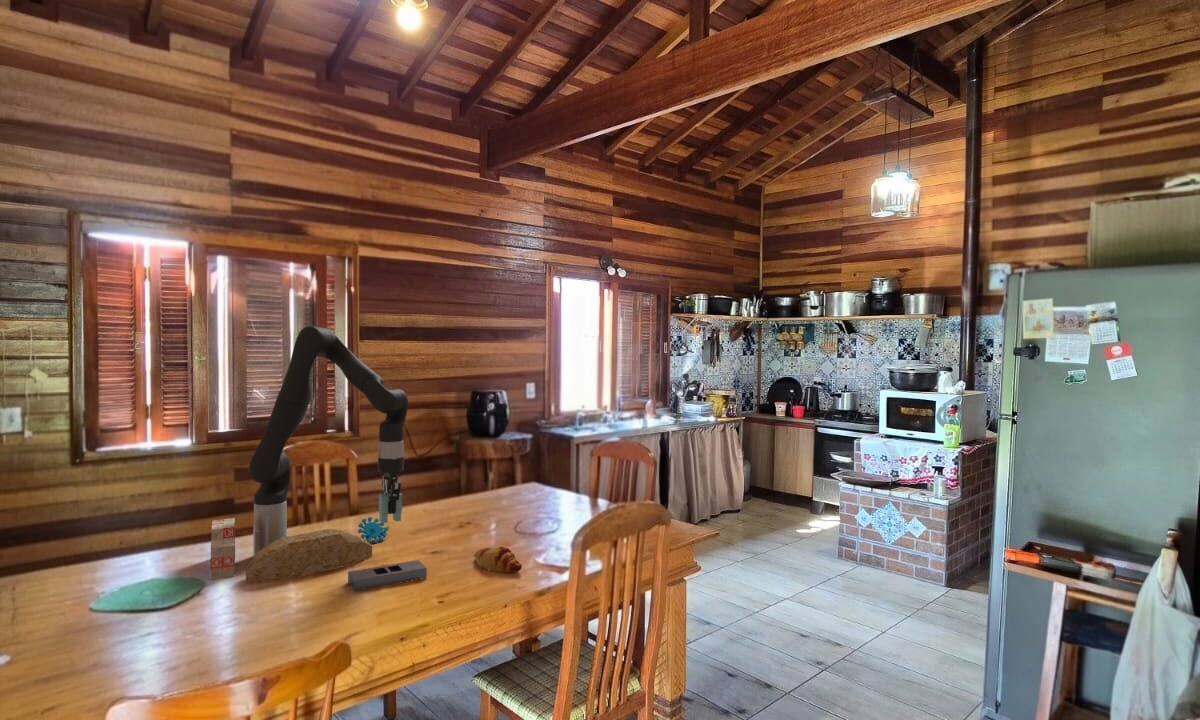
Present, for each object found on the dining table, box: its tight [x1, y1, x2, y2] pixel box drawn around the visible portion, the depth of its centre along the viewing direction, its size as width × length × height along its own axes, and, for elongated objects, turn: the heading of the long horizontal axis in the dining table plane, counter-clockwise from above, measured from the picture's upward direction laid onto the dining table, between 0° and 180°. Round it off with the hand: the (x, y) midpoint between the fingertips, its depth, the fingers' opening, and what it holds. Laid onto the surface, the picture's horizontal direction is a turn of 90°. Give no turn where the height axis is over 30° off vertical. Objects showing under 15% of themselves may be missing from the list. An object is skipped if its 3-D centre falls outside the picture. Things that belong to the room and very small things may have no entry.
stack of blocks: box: [209, 517, 236, 580], centre depth 200 cm, size 21×6×12 cm, turn 29°
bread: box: [245, 528, 373, 584], centre depth 200 cm, size 36×11×10 cm, turn 134°
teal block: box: [378, 493, 403, 524], centre depth 202 cm, size 6×3×8 cm, turn 122°
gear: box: [357, 516, 390, 544], centre depth 229 cm, size 11×6×10 cm
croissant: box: [474, 545, 523, 574], centre depth 203 cm, size 21×10×8 cm, turn 49°
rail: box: [347, 559, 428, 592], centre depth 190 cm, size 20×8×3 cm, turn 122°
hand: (390, 511), depth 202 cm, fingers closed on teal block, 3 cm apart
